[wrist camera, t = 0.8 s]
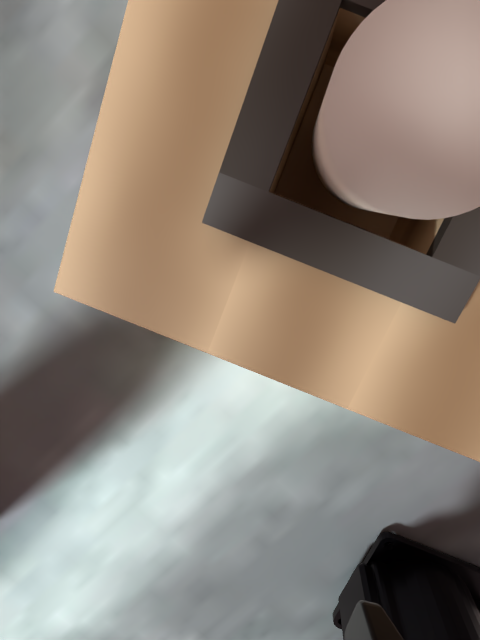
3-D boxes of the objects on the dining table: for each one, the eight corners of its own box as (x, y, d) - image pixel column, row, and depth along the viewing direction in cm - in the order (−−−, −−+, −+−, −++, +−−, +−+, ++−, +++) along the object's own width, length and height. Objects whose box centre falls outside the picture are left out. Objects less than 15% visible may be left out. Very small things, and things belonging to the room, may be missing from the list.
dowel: (473, 98, 13) (606, 28, 7) (409, 230, 14) (483, 250, 9) (345, 46, 13) (384, -61, 7) (291, 182, 14) (291, 174, 9)
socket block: (659, 16, 16) (905, -104, 10) (441, 393, 20) (509, 481, 14) (243, -149, 16) (212, -378, 10) (119, 264, 20) (43, 295, 14)
